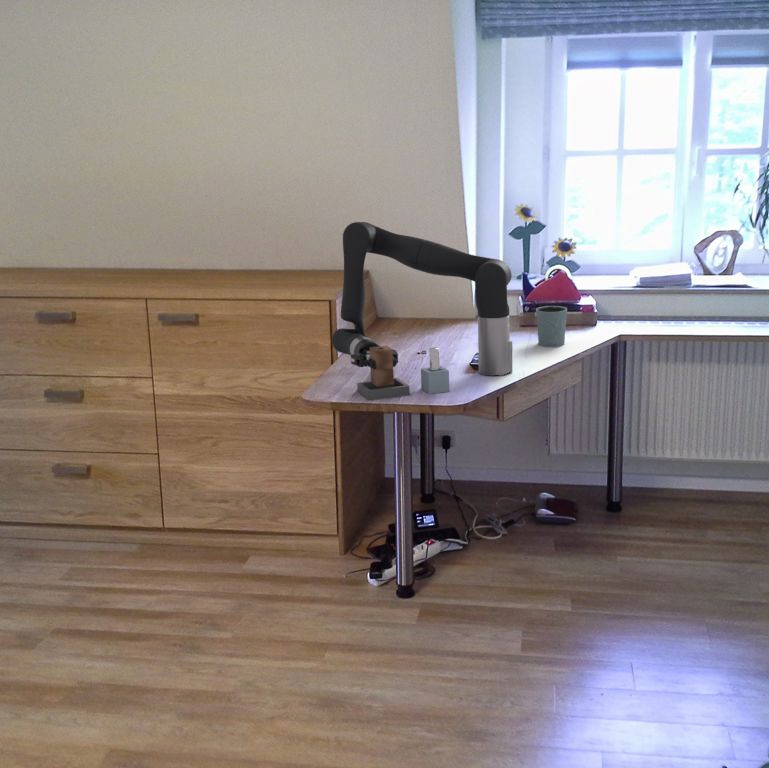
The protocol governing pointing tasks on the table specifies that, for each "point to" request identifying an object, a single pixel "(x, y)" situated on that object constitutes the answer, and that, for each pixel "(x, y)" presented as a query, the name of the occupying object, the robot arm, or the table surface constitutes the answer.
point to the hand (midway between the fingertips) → (384, 364)
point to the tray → (383, 390)
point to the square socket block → (435, 380)
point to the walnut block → (382, 366)
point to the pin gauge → (434, 359)
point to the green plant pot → (551, 325)
